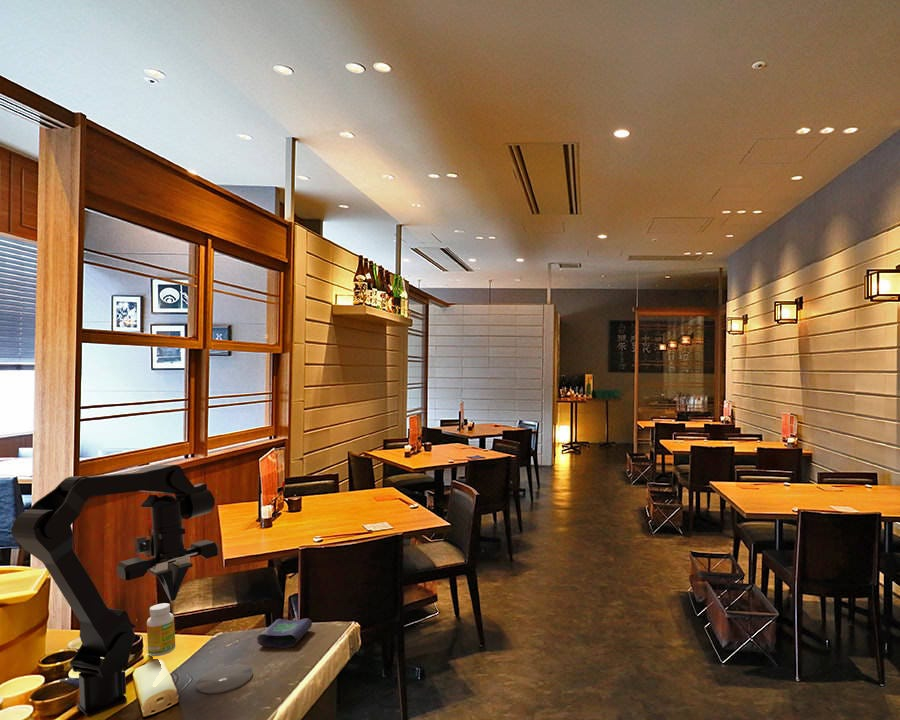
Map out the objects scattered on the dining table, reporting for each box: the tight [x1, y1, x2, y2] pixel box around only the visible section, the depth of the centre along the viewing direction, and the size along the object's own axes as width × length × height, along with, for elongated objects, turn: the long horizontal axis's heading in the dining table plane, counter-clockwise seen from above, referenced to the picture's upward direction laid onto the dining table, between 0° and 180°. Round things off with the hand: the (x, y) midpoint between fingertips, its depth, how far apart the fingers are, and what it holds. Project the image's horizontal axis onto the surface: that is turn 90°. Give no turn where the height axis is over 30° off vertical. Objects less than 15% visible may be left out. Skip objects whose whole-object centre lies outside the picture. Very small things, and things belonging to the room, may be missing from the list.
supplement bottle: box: [146, 602, 176, 657], centre depth 129 cm, size 5×5×10 cm
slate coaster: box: [196, 663, 253, 695], centre depth 113 cm, size 10×10×1 cm
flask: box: [256, 617, 313, 649], centre depth 131 cm, size 9×3×11 cm
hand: (172, 600), depth 122 cm, fingers closed
